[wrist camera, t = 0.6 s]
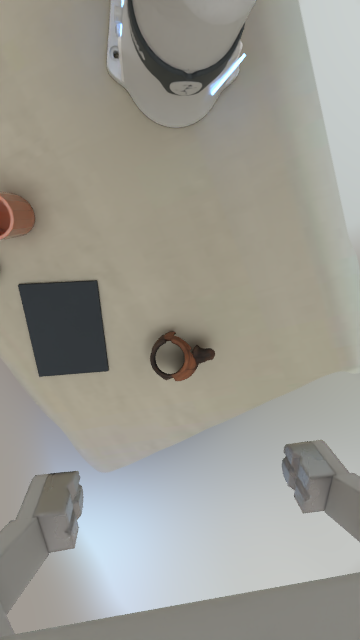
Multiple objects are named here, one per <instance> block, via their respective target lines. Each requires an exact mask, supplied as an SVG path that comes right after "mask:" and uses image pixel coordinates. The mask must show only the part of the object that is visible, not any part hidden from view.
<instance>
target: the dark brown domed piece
mask: <svg viewBox="0 0 360 640" xmlns="http://www.w3.org/2000/svg"><path fill="white" fill-rule="evenodd" d="M174 334H176V332H169V333H166V334H165V335H162V336H161V337H160V338H159V339H158V340H157V341H156V343H155V344H154V346H153V348H152V353H151V356H150V361H151V365H152V368H153V369H154V371H155V372H156V373H157V374H158V375H159V376H161V377H162V378H163V379H165V380H168V379H171V378H174V379H175V381H182V380H185V379H187V378H189V377H190V376H191V375H192V374H193V373H194V372H195V370H196V369H197V367H198V364H199V363H202V362H205V361H207V360H212V359H213V358H214V356H215V351H214V350H212V349H211V348H206V349H205V348H200V347H199V346H198V345H196V346H195V347H194V349H193V351H192V353H193V354H192V353H191V352H190V350H191V347H190V346H189V345H188V344H187V343H186V342H185V341H184V340H182V339H181V338H179V337H177V336H174ZM166 341H172V343H174V344H176V345H178V346H179V347H180V348H181V349H182V351H183V353H184V357H185V360H184V364H183V367H182V368H181V369H180V370H179V371H178V372H176V373H173V374H166V373H164V372H162V371H161V370H160V369H159V368H158V366H157V364H156V360H155V356H156V352H157V350H158V349H159V347H160V346H161V345H163V344H165V343H166Z"/></svg>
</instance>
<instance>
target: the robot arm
mask: <svg viewBox="0 0 360 640" xmlns="http://www.w3.org/2000/svg"><path fill="white" fill-rule="evenodd" d="M255 2H256V0H111V5H110V19H109V34H108V49H107V70H108V73H109V74H110V76H111V77H112V78H113V79H114V80H116V81H117V82H118V83H119V84H121V85H122V86H123V87H125V88H126V90H127V91H128V92H129V94H130V96H131V97H132V99H133V101H134V102H135V104H136V105H137V106H138V108H139V109H140V110H141V111H142V112H143V113H144V114H145V115H146V116H147V117H148V118H150V119H151V120H152V121H154V122H156V123H158V124H160V125H163V126H166V127H172V128H180V127H186V126H189V125H192V124H194V123H196V122H197V121H199V120H200V119H202V118H203V117H204V116H205V115H206V114H207V113H208V112H209V111H210V110H211V108H212V107H213V105H214V104H215V102H216V100H217V98H218V96H219V95H220V93H221V92H222V90H223V89H225V88H226V87H227V86H229V85H230V84H231V83H232V82H233V81H234V80H235V79H236V78H237V76H238V73H239V70H240V62H241V61H242V60H243V59H244V57H245V56H246V55H245V54H243V55H242V56H241V58H240V59H239V55H240V53H241V50H242V45H243V44H242V42H241V41H240V39H241V35H242V32H243V29H244V25H245V21H246V19H247V17H248V15H249V13H250V12H251V10H252V8H253V6H254V4H255ZM115 53H117V54H119V58H117V59H116V58H114V56H113V55H114V54H115ZM284 453H285V455H286V457H285V458H284V459H283V460H282V470H283V474H284V477H285V480H286V482H287V484H288V486H290V487H291V488H292V489H294V490H295V493H294V497H295V499H296V501H297V503H298V505H299V506H300V508H301V510H302V512H303V513H310V512H318V511H325V513H326V514H328V515H329V516H330V517H331V518H333V519H334V520H335V521H336V522H337V523H338V524H339V525H340V526H342V527H343V528H344V529H345V530H346V531H348V532H349V533H350V534H351V535H352V536H353V537H355V538H356V539H357V540H358V541H359V542H360V476H358V475H356V474H354V473H349V472H348V470H347V469H346V468H345V467H344V465H343V464H342V463H341V462H340V460H339V459H338V458H337V457H336V455H335V454H334V453H333V452H332V450H331V449H330V448H329V447H328V445H327V444H326V443H325V442H324V441H323V440H316V441H310V442H308V441H307V442H301V443H293V444H286V445H285V447H284ZM79 480H80V476H79V472H78V471H73V472H61V473H53V474H52V473H51V474H44V475H35V477H34V478H33V479H32V481H31V484H30V486H29V488H28V491H27V493H26V496H25V498H24V501H23V503H22V505H21V508H20V510H19V513H18V515H17V517H16V520H12V521H10V522H9V523H8V524H7V525H6V526H5V527H4V528H3V529H2V530H1V531H0V640H360V572H359V573H354V574H348V575H342V576H337V577H331V578H326V579H320V580H315V581H309V582H303V583H298V584H292V585H287V586H281V587H275V588H270V589H265V590H259V591H253V592H248V593H242V594H236V595H231V596H225V597H220V598H215V599H209V600H203V601H198V602H192V603H187V604H181V605H175V606H170V607H165V608H159V609H154V610H148V611H142V612H137V613H132V614H125V615H120V616H114V617H109V618H104V619H98V620H92V621H87V622H81V623H76V624H70V625H64V626H59V627H54V628H48V629H42V630H37V631H31V632H26V633H20V634H15V633H14V631H13V629H12V627H11V625H10V622H9V620H8V618H7V616H6V615H7V614H8V612H9V610H10V609H11V608H12V606H13V605H14V604H15V602H16V601H17V599H18V598H19V596H20V595H21V594H22V592H23V591H24V589H25V588H26V587H27V585H28V584H29V582H30V581H31V579H32V578H33V576H34V575H35V574H36V572H37V571H38V569H39V568H40V566H41V565H42V564H43V562H44V561H45V559H46V558H47V557H48V555H49V553H51V552H56V551H62V550H67V549H73V548H75V542H76V538H77V533H78V528H79V527H78V523H77V519H78V518H79V517H80V516H81V513H82V507H83V489H82V486H81V485H79Z"/></svg>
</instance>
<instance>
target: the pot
mask: <svg viewBox="0 0 360 640" xmlns="http://www.w3.org/2000/svg"><path fill="white" fill-rule="evenodd" d="M34 222H35V215H34V211H33V209H32V207H31V206H30V204H29V203H28V202H27V201H26V200H25V199H24V198H22V197H21V196H19V195H16V194H13V193H7V192H1V191H0V240H3V239H8V238H14V237H19V236H22V235H25V234H27V233H28V232H30V231H31V229H32V228H33V226H34Z"/></svg>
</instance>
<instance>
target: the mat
mask: <svg viewBox="0 0 360 640" xmlns="http://www.w3.org/2000/svg"><path fill="white" fill-rule="evenodd" d="M18 287H19V291H20V295H21V300H22V304H23V308H24V313H25V317H26V321H27V326H28V330H29V334H30V339H31V343H32V347H33V352H34V356H35V360H36V365H37V369H38V373H39V377H42V376H54V375H66V374H78V373H90V372H102V371H108V370H109V369H108V361H107V353H106V346H105V338H104V330H103V322H102V314H101V307H100V299H99V291H98V283H97V280H96V281H75V282H55V283H34V284H19V285H18Z"/></svg>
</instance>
